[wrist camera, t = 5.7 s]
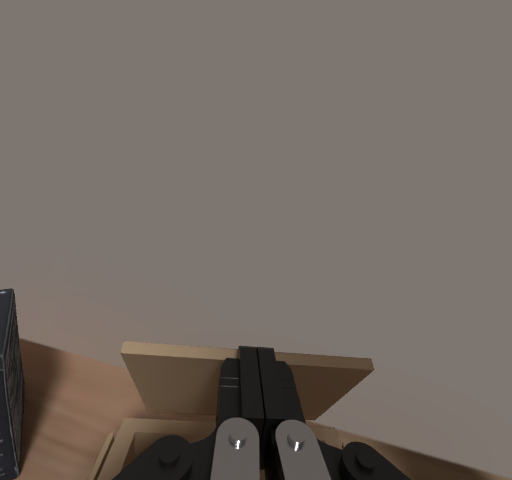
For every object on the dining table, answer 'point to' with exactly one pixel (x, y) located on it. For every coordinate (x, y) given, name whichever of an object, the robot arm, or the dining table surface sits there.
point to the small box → (10, 389)
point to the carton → (149, 430)
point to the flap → (208, 373)
